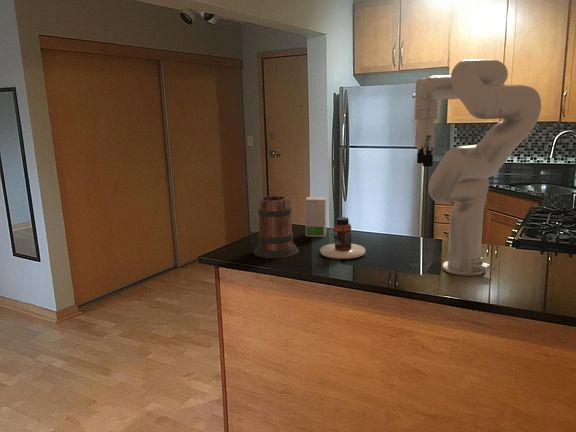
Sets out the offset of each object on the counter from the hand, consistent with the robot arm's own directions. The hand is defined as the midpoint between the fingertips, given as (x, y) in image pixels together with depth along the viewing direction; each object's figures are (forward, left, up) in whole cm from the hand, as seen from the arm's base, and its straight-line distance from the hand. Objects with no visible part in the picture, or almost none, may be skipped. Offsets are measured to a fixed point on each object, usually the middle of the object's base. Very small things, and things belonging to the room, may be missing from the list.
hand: (424, 164), depth 166 cm
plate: (+11, +28, -30) cm, 43 cm away
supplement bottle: (+11, +28, -29) cm, 42 cm away
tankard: (+30, +43, -31) cm, 61 cm away
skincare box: (+38, +21, -31) cm, 53 cm away
